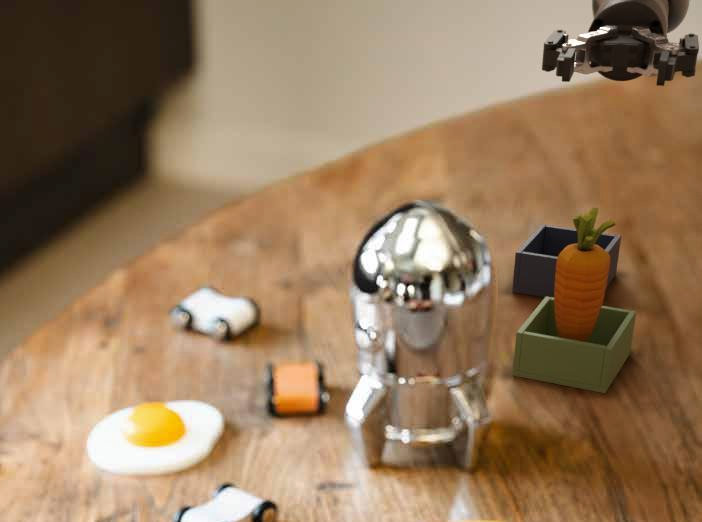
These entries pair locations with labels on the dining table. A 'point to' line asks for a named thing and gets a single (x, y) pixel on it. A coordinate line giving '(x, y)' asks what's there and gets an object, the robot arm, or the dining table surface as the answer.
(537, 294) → the blue bin
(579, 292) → the carrot
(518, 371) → the green bin
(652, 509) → the dining table surface
